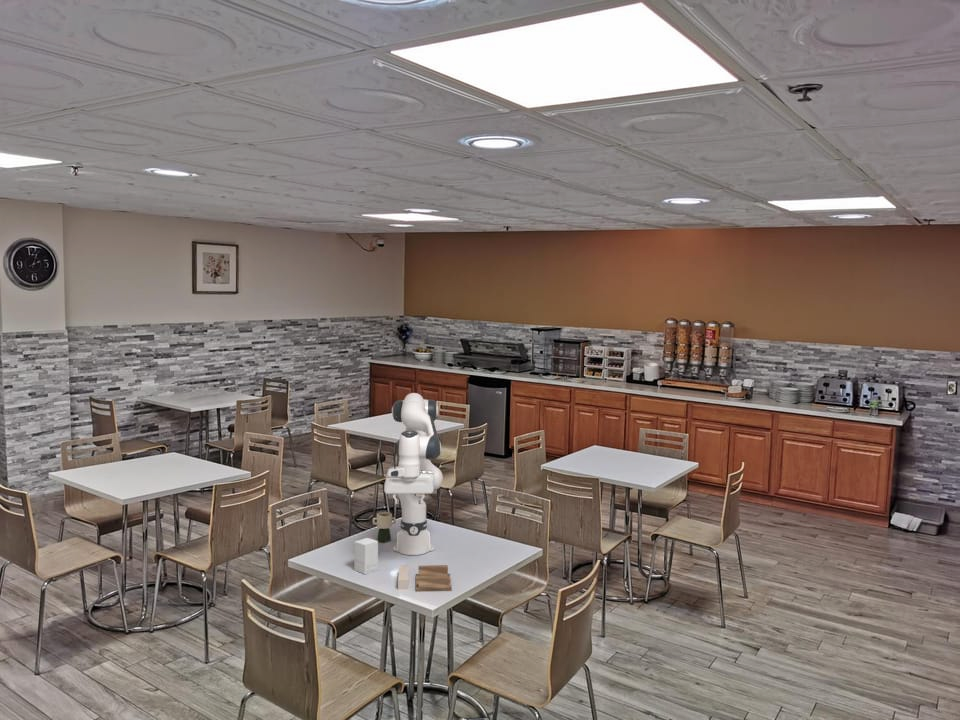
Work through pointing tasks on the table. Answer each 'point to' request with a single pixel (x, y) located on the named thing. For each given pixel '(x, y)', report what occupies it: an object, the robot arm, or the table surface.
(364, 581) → the table surface
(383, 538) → the character mug
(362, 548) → the supplement box
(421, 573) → the ridged wooden base
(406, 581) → the beige rectangular bar
